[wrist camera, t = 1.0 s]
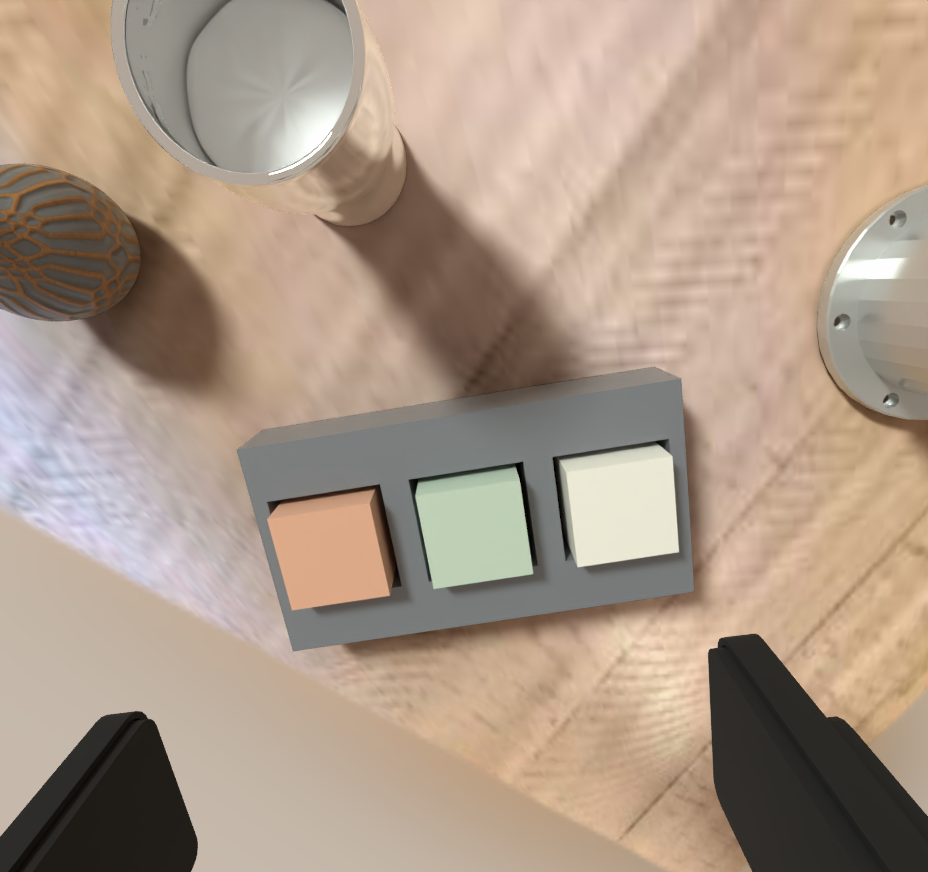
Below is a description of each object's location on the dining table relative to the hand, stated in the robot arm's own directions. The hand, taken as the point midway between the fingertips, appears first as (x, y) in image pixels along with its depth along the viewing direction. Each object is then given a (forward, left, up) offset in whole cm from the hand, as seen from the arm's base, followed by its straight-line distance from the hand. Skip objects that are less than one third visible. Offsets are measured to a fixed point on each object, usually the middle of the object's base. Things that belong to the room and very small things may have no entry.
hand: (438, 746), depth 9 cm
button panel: (0, +5, -24) cm, 25 cm away
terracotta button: (+7, +5, -23) cm, 24 cm away
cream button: (-8, +5, -23) cm, 24 cm away
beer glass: (+3, -14, -24) cm, 28 cm away
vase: (+17, -12, -24) cm, 32 cm away
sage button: (0, +5, -23) cm, 23 cm away
